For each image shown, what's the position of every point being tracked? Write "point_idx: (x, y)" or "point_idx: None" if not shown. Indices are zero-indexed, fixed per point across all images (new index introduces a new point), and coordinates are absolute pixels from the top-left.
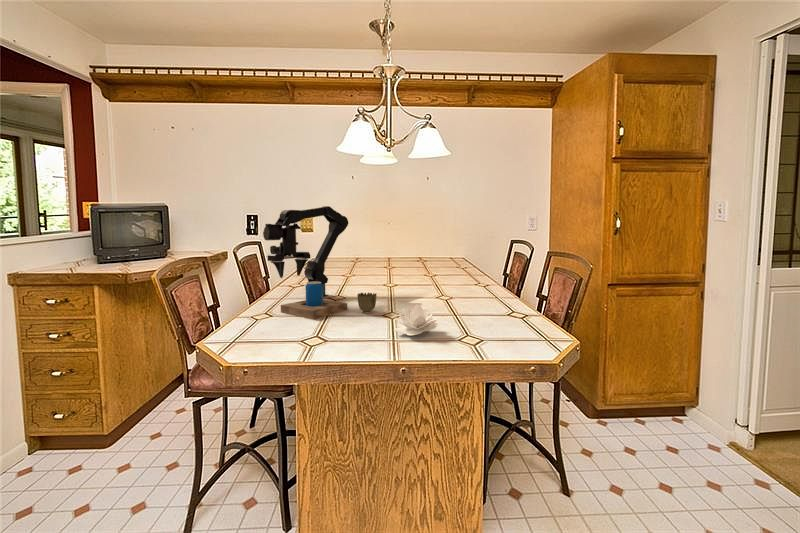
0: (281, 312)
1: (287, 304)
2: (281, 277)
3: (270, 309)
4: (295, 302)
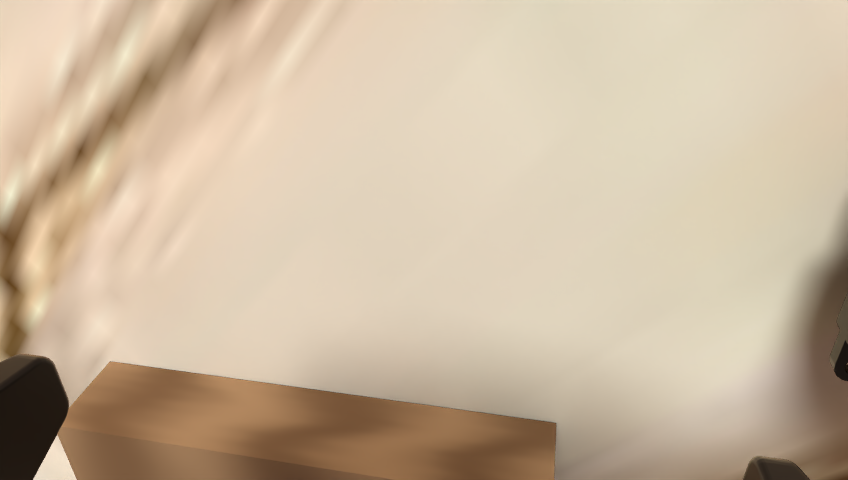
0: (104, 378)
1: (116, 460)
2: (37, 403)
3: (116, 128)
4: (229, 465)
